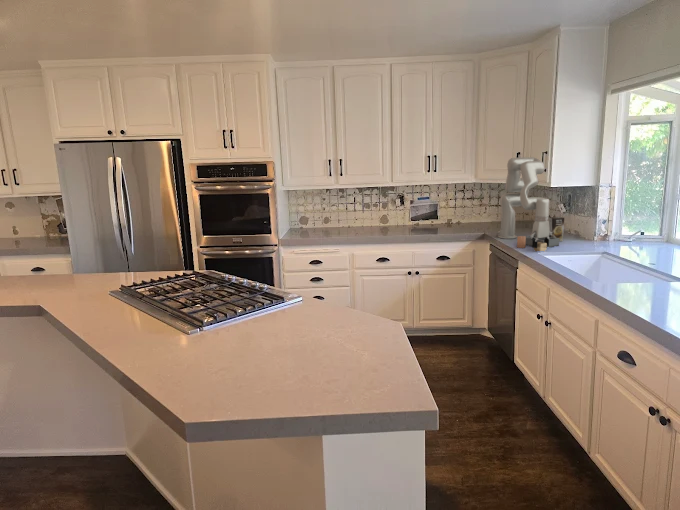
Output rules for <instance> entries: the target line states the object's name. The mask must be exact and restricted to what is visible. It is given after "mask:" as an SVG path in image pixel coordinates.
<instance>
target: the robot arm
mask: <svg viewBox="0 0 680 510" xmlns="http://www.w3.org/2000/svg"><path fill="white" fill-rule="evenodd" d="M506 167H507V168H506V169H507V177H506V181H505V188H504V190H505V191H506V193H503V194H502V195H501V196H500V207H501V209H500V211H501V212H500V213H501V214H500V215H501V216H500V218H501V219H500V230H498V231H497V234H499V235H497V238H500V239H507V240H510V239H517V236H518V235H516V234H515V233H516V210H515V209H514V208H513V207H522V208H523V209H524V210H526V211H530V210H531V211H532V210H533V211H534V210H535V216H534V217H535V218H534V221H533V225H532V231H531V233H530V234H529V235H530V237H531V240H532V241H533V242H532V246H531V247H532V248H533V249H534V248H537V240H538V238H545V239H544V243H547V246H549V240H550V237H551V235H552V232H551V231H550V226H549V217H550V199H549V198H546V197H544V196H543V197H542V196H537V197H534V196H531V197H529V193H530V190H531V189H532V188H535V187H536V186H537V185H538V184H539V177H538V175H542V174H543V173H544V172H545V167H546V166H545V164H544V162H543V161H542V160H541V159H539V158H537V157H534V156H532V157H531V156H530V157H528V156H527V157H526V156H525V157H512V158H510V159H508V161H507V165H506ZM521 176H522V177H521ZM535 238H536V239H535Z"/></svg>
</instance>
